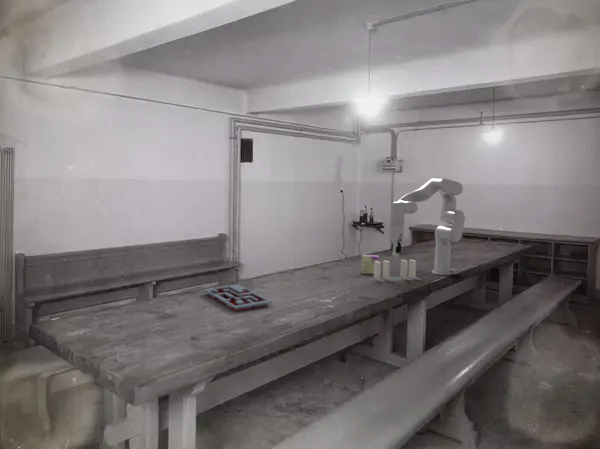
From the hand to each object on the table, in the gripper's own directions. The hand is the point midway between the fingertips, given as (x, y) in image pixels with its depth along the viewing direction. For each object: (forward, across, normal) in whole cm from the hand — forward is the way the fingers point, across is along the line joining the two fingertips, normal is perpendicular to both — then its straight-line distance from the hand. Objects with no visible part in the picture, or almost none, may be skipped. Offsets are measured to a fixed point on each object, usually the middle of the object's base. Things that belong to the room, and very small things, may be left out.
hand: (395, 251), depth 279 cm
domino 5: (+17, 0, +12) cm, 21 cm away
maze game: (+19, +23, -100) cm, 105 cm away
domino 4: (+17, 0, +6) cm, 18 cm away
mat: (+17, 0, 0) cm, 17 cm away
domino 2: (+17, 0, -6) cm, 18 cm away
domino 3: (+3, 0, 0) cm, 3 cm away
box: (+18, -18, -8) cm, 26 cm away
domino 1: (+17, 0, -12) cm, 21 cm away
